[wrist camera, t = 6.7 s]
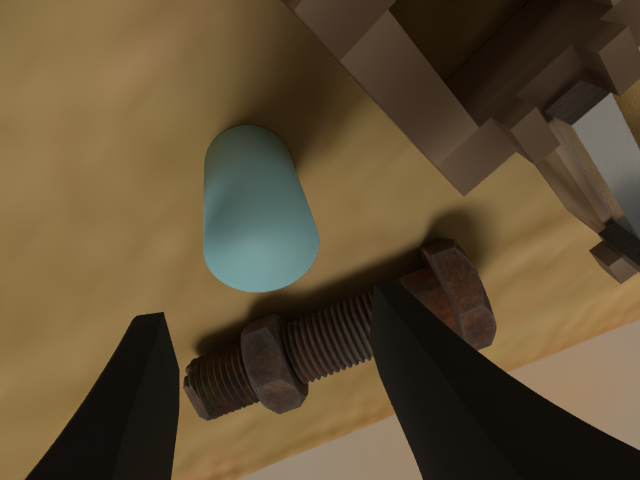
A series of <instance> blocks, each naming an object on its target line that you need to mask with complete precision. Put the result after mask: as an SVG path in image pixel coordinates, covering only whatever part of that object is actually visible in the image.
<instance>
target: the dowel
mask: <svg viewBox="0 0 640 480" xmlns="http://www.w3.org/2000/svg"><path fill="white" fill-rule="evenodd" d="M318 249H319V235H318V230H317V227H316V225H315V222H314V219H313V216H312V214H311V211H310V208H309V205H308V203H307V200H306V197H305V194H304V192H303V189H302V186H301V183H300V181H299V178H298V175H297V173H296V170H295V167H294V164H293V162H292V159H291V156H290V153H289V151H288V148H287V147H286V145H285V143H284V142H283V141H282V139H281V138H280V137H279V136H278V135H276V134H275V133H274V132H272V131H270V130H268V129H266V128H264V127H260V126H256V125H240V126H236V127H232V128H230V129H228V130H226V131H224V132H222V133H221V134H220V135H218V136H217V137H216V138H215V139H214V140H213V142H212V143H211V144H210V146H209V148H208V150H207V153H206V157H205V166H204V221H203V254H204V258H205V261H206V264H207V266H208V268H209V269H210V271H211V272H212V273H213V275H214V276H215V277H216V278H218V279H219V280H220V281H221V282H223V283H224V284H226V285H228V286H230V287H232V288H235V289H238V290H242V291H247V292H268V291H273V290H277V289H280V288H283V287H285V286H288V285H290V284H291V283H293V282H295V281H296V280H298V279H299V278H300V277H302V276H303V275H304V274H305V273H306V272H307V271H308V269H309V268H310V267H311V266H312V264H313V262H314V260H315V258H316V256H317V253H318Z"/></svg>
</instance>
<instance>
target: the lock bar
mask: <svg viewBox="0 0 640 480" xmlns="http://www.w3.org/2000/svg"><path fill="white" fill-rule="evenodd" d="M545 113H546V114H547V116H548V117H549V119H550V121H551V122H552V124H553V125H554V127H555V128H556V130H557V132H558V133H559V135H560V136H561V138H562V140H563V141H564V143H565V144H566V146H567V147H568V149H569V151H570V152H571V154H572V155H573V157H574V158H575V160H576V162H577V163H578V165H579V166H580V168H581V170H582V171H583V173H584V174H585V176H586V177H587V179H588V181H589V182H590V184H591V185H592V187H593V189H594V190H595V192H596V193H597V195H598V196H599V198H600V200H601V201H602V203H603V204H604V206H605V207H606V209H607V211H608V212H609V214H610V215H611V217H612V219H613V220H614V222H613V223H611V224H610V225H609V226H607V227H606V228H605V229H603V230H602V231H601V232H599V233H598V235H599V237H600V238H601V240H602V241H603V242H604V244H605V245H606V246H607V247H608V248H609V249H611V250H612V251H613V252H614V253H616V254H617V255H618V256H619V257H621V258H622V259H623V260H624V261H626V262H627V263H628V264H630V265H631V266H632V267H633V268H635V269H636V270H637V271H638V272H640V149H639V147H638V145H637V143H636V141H635V139H634V137H633V135H632V133H631V131H630V129H629V127H628V125H627V123H626V121H625V119H624V117H623V115H622V113H621V111H620V109H619V107H618V105H617V103H616V101H615V99H614V97H613V95H612V93H611V92H609V91H606V90H604V89H601V88H599V87H596V86H594V85H591V84H589V83H586V82H584V81H581V80H580V81H579V82H578V83H577V84H575V85H574V86H573V87H572V88H571V89H570V90H569V91H567V92H566V93H565V94H564V95H563V96H562V97H560V98H559V99H558V100H557V101H556V102H555V103H554V104H552V105H551V106H550V107H549V108H548V109H547V110H546V111H545Z"/></svg>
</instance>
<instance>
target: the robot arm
mask: <svg viewBox="0 0 640 480" xmlns="http://www.w3.org/2000/svg"><path fill="white" fill-rule="evenodd" d="M369 341H370V344H371V348H372V351H373V355H374V358H375V362H376V365H377V368H378V372H379V375H380V378H381V380H382V382H383V385H384V387H385V390H386V392H387V394H388V397H389V399H390V401H391V404H392V406H393V408H394V411H395V413H396V415H397V417H398V420H399V422H400V424H401V427H402V429H403V431H404V433H405V436H406V438H407V440H408V443H409V445H410V447H411V450H412V452H413V454H414V457H415V459H416V462H417V465H418V467H419V470H420V472H421V475H422V478H423V480H640V450H638V449H636V448H634V447H632V446H630V445H628V444H626V443H624V442H622V441H620V440H618V439H616V438H614V437H612V436H610V435H608V434H606V433H604V432H603V431H601V430H599V429H597V428H595V427H593V426H591V425H590V424H588V423H586V422H584V421H582V420H581V419H579V418H577V417H576V416H573V415H572V414H570V413H569V412H567V411H565V410H563V409H562V408H560V407H558V406H557V405H555V404H553V403H552V402H550V401H548V400H547V399H545V398H543V397H542V396H540V395H539V394H537V393H535V392H534V391H533V390H531V389H530V388H528V387H527V386H525V385H524V384H522V383H521V382H519V381H518V380H516V379H515V378H513V377H511V376H510V375H509V374H507V373H506V372H505V371H503V370H502V369H500V368H499V367H498V366H496V365H495V364H494V363H492V362H491V361H490V360H488V359H487V358H486V357H484V356H483V355H482V354H481V353H479V352H478V351H477V350H475V349H474V348H473V347H472V346H471V345H469V344H468V343H467V342H466V341H464V340H463V339H462V338H461V337H460V336H459V335H457V334H456V333H455V332H454V331H453V330H452V329H450V328H449V327H448V326H447V325H446V324H445V323H443V322H442V321H441V320H440V319H439V318H438V317H437V316H436V315H434V314H433V313H432V312H431V311H430V310H429V309H428V308H427V307H426V306H425V305H424V304H422V303H421V302H420V301H419V300H418V299H417V298H416V297H415V296H414V295H413V294H412V293H411V292H410V291H409V290H407V289H406V288H405V287H404V286H403V285H402V284H401V283H400V282H399V281H398V280H395V281H388V282H381V283H374V292H373V303H372V314H371V326H370V337H369ZM178 417H179V366H178V363H177V359H176V356H175V352H174V348H173V345H172V341H171V337H170V334H169V330H168V327H167V323H166V319H165V316H164V312H161V313H153V314H146V315H139V316H136V317H135V318H134V319H133V320H132V322H131V324H130V325H129V327H128V329H127V331H126V333H125V335H124V336H123V338H122V340H121V342H120V343H119V345H118V347H117V349H116V350H115V352H114V354H113V355H112V357H111V359H110V360H109V362H108V364H107V365H106V367H105V369H104V370H103V372H102V373H101V375H100V376H99V378H98V380H97V381H96V383H95V384H94V386H93V387H92V389H91V391H90V392H89V394H88V395H87V397H86V398H85V400H84V401H83V403H82V404H81V405H80V407H79V408H78V410H77V411H76V413H75V414H74V415H73V417H72V418H71V420H70V421H69V422H68V424H67V425H66V427H65V428H64V429H63V431H62V432H61V434H60V435H59V436H58V438H57V439H56V440H55V442H54V443H53V444H52V446H51V447H50V448H49V450H48V451H47V452H46V454H45V455H44V456H43V457H42V459H41V460H40V461H39V462H38V464H37V465H36V466H35V467H34V469H33V470H32V471H31V472H30V474H29V475H28V476H27V477H26V478H25V480H171V474H172V466H173V458H174V450H175V442H176V434H177V425H178Z"/></svg>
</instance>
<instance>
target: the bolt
mask: <svg viewBox="0 0 640 480" xmlns="http://www.w3.org/2000/svg"><path fill="white" fill-rule="evenodd" d="M420 251H421V255H422V258H423V262H424V265H425V268H422V269H419V270H417V271H414V272H412V273H409V274H407V275H404V276H401V277H399V278H398V279H397V280H398V281H399V282H400V283H401V284H402V285H403V286H404V287H405V288H406V289H407V290H409V291H410V292H411V293H412V294H413V295H414V296H415V297H416V298H417V299H418V300H419V301H420V302H421V303H422V304H424V305H425V306H426V307H427V308H428V309H429V310H430V311H431V312H432V313H433V314H434V315H436V316H437V317H438V318H439V319H440V320H441V321H442V322H443V323H445V324H446V325H447V326H448V327H449V328H450V329H452V330H453V331H454V332H455V333H456V334H457V335H459V336H460V337H461V338H462V339H463V340H464V341H466V342H467V343H468V344H469V345H471V346H472V347H473V348H474V349H475V350H480V349H483V348H485V347H488V346H491V344H492V342H493V339H494V336H495V332H496V321H495V318H494V315H493V312H492V309H491V305H490V302H489V299H488V297H487V294H486V292H485V289H484V287H483V284H482V282H481V279H480V277H479V275H478V273H477V271H476V269H475V268H474V266H473V265H472V263H471V261H470V260H469V258H468V257H467V255H466V254H465V252H464V251H463V249H462V248H461V247H460V246H459V245H458V243H457V242H456V241H455V240H453V239H448V238H444V239H439V240H437V241H434V242H432V243H429V244H427V245H424V246H422V247H420ZM373 292H374V291H373ZM372 303H373V294H372V293H371V292H370V291H368V293H367V296H366V295H365V294H362V296H361V298H360V297H359V296H356V298H355V301H354V300H353V299H352V298H350V299H349V302H348V303H347V302H346V301H343V304H342V306H341V305H340V304H339V303H337V305H336V308H335V307H334V306H333V305H332V306H331V307H330V310H329V309H327V308H325V309H324V313H323V312H322V311H320V310H319V311H318V314H315V313H312V316H311V317H310V316H309V315H306V319H304V318H302V317H301V318H300V321H297V320H294V323H293V324H292V323H291V322H288V324H287V323H286V321H285V320H284V318H283V317H282V316H280V315H278V314H276V313H271V314H268V315H266V316H263V317H261V318H258V319H256V320H253V321H251V322H250V323H249V324H247V326H246V327H245V328H244V329H243V331H242V334H241V341H240V342H239V344H238V343H234V345H233V346H232V345H229V346H228V347H227V348H226V347H224V348H222V350H219V349H218V350H216V352H211V353H210V354H206V355H204V356H200V357H198V358H195V359H193V360H192V361H191V363H190V364H189V365H188V366H187V367H186V370H185V371H186V373H187V376H186V377H184V390H185V392H186V394H187V396H188V398H189V400H190V401H191V403H192V405H193V407H194V408H195V410H196V412H197V414H198V415H199V417H201V418H203V419H205V420H207V421H208V420H211V419H216V418H217V417H220V416H223V414H228V413H229V412H233V411H235V410H238V409H241V407H244V408H245V407H246V406H247V405H252V404H253V403H258V402H259V401H261V403H262V404H263V405H264V406H265V407H266V408H268V409H270V410H272V411H274V412H276V413H278V414H282V413H284V412H287V411H290V410H292V409H295V408H298V407H300V406H301V405H302V403H303V402H304V400H305V399H306V397H307V395H308V382H309V381H311V382H314V380H315V378H316V379H318V380H320V378H321V375H322V376H323V377H327V374H330V375H332V374H333V372H334V371H335V372H339V371H340V368H341V369H342V370H345V369H346V365H347V366H348V367H349V368H351V367H352V364H353V363H354V364H355V365H358V364H359V361H360V362H362V363H364V362H365V358H366V359H367V360H369V361H370V360H371V356H373V357H374V355H373V351H372V348H371V344H370V341H369V337H370V326H371V314H372Z"/></svg>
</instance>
